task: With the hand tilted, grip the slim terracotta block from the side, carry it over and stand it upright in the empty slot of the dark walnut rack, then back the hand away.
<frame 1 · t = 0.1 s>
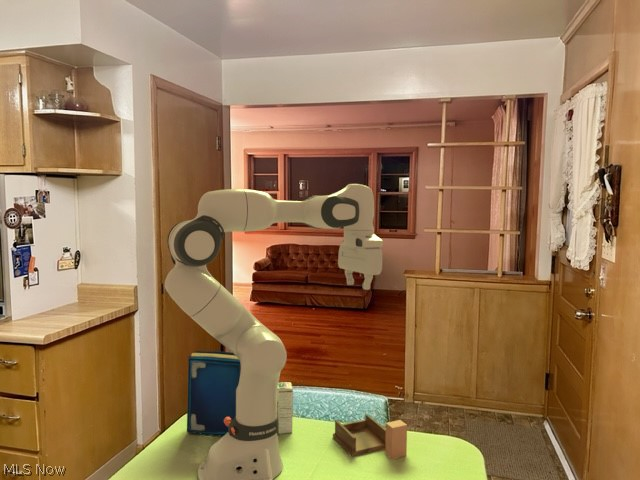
hand: (358, 286, 132), 48 cm above the table, tool pointing down, fingers open, 8 cm apart
syrup box: (283, 430, 144), on the table
walnut slot rack: (360, 442, 137), on the table
book: (223, 432, 142), on the table
terracotta block: (395, 454, 130), on the table
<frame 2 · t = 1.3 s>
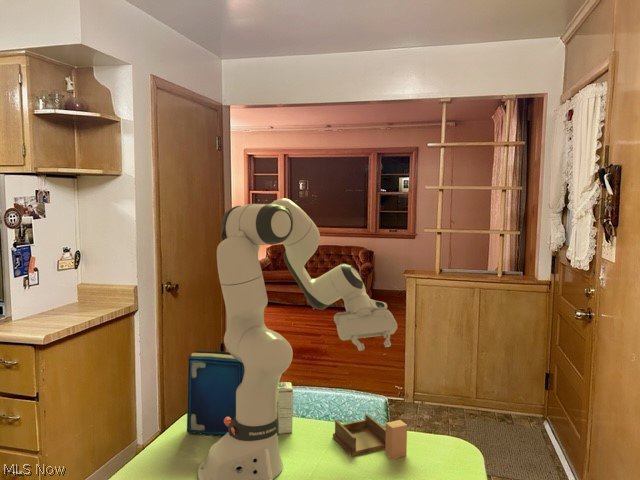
hand: (375, 347, 139), 28 cm above the table, tool tilted 45°, fingers open, 8 cm apart
nothing on the table moved.
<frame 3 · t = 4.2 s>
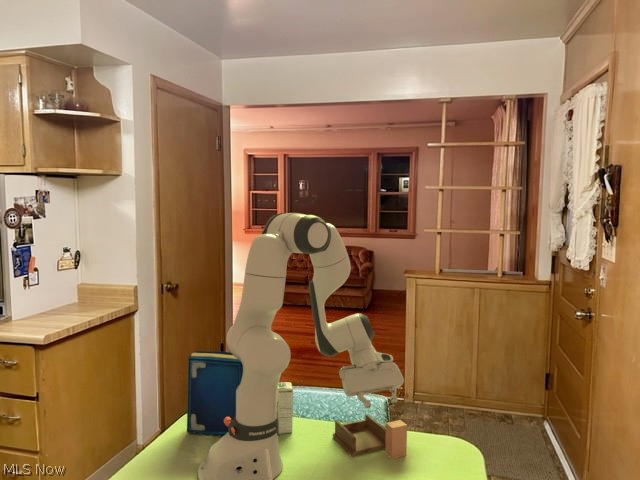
hand: (381, 404, 137), 11 cm above the table, tool tilted 45°, fingers open, 8 cm apart
nothing on the table moved.
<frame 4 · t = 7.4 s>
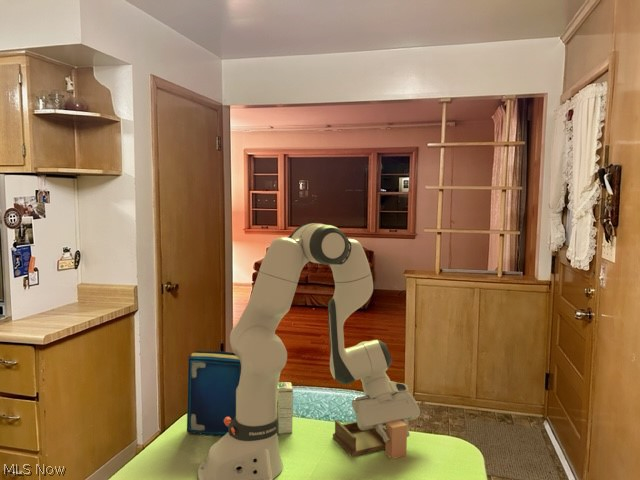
hand: (397, 438, 129), 5 cm above the table, tool tilted 45°, fingers closed on terracotta block, 5 cm apart
terracotta block: (395, 454, 130), on the table, touching gripper
everything else where it was.
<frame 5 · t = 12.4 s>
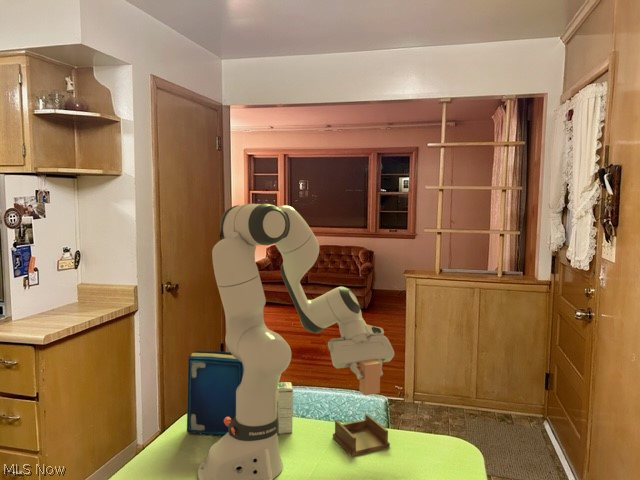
hand: (370, 376, 133), 21 cm above the table, tool tilted 45°, fingers closed on terracotta block, 5 cm apart
terracotta block: (369, 392, 134), point 16 cm above the table, touching gripper
everything else where it was.
when the fingers open (7 cm above the table, at t = 17.0 s): terracotta block drops 1 cm, resting on walnut slot rack.
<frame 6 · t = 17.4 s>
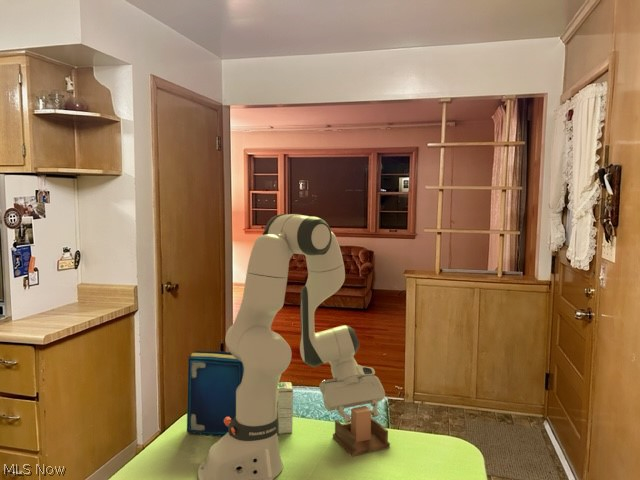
hand: (362, 419, 136), 7 cm above the table, tool tilted 45°, fingers open, 8 cm apart
terracotta block: (360, 438, 136), point 1 cm above the table, touching walnut slot rack
everything else where it was.
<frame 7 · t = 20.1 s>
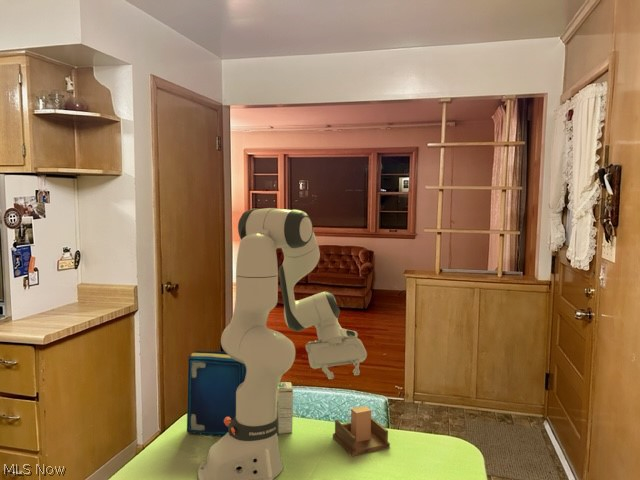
hand: (344, 376, 146), 17 cm above the table, tool tilted 45°, fingers open, 8 cm apart
nothing on the table moved.
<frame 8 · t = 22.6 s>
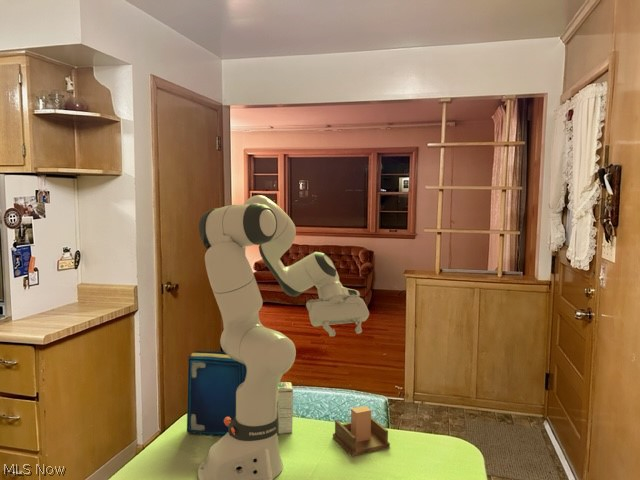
hand: (346, 334, 142), 31 cm above the table, tool tilted 45°, fingers open, 8 cm apart
nothing on the table moved.
at the end: terracotta block inside the target area on the walnut slot rack (0.0 cm from its centre), point 1.2 cm above the walnut slot rack's base; terracotta block tilted 0°; the gripper is holding nothing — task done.
